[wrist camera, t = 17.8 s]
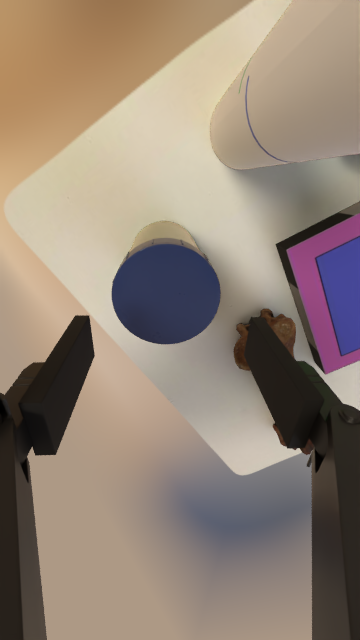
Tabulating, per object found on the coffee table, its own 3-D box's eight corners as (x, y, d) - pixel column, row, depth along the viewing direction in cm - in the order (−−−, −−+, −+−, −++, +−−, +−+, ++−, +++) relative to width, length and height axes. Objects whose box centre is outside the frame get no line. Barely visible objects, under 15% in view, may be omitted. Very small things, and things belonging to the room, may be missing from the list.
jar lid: (119, 330, 24) (115, 344, 22) (112, 235, 20) (106, 242, 18) (210, 330, 24) (214, 344, 22) (220, 239, 20) (226, 245, 18)
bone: (299, 480, 44) (236, 362, 29) (274, 437, 51) (214, 326, 36) (348, 456, 43) (309, 323, 28) (316, 417, 50) (271, 294, 36)
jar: (133, 285, 34) (118, 339, 22) (130, 219, 30) (111, 243, 18) (194, 286, 34) (211, 339, 23) (199, 222, 30) (222, 246, 19)
